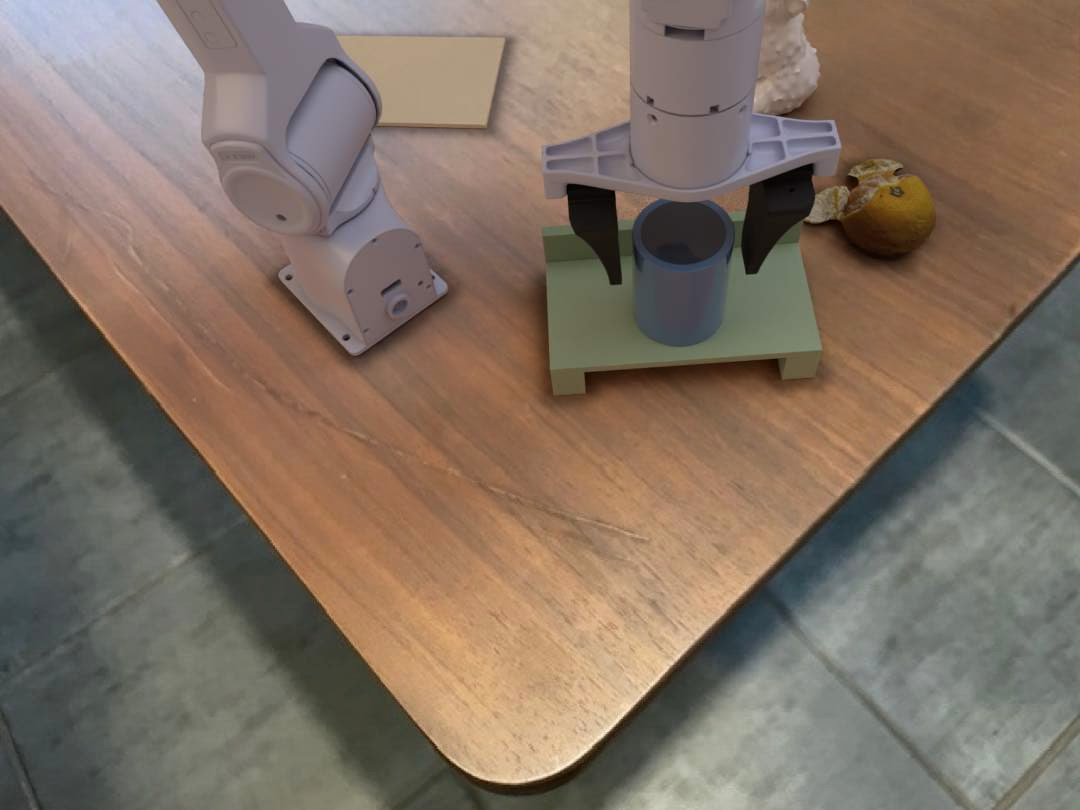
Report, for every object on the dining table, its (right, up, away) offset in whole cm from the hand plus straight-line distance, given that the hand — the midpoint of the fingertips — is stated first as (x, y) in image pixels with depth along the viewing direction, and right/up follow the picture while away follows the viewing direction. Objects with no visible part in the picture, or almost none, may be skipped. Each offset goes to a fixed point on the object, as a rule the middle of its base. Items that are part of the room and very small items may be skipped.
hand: (681, 266), depth 55 cm
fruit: (+14, +5, +10) cm, 18 cm away
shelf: (+1, -3, +6) cm, 7 cm away
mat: (-20, +18, +21) cm, 34 cm away
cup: (0, -2, +3) cm, 4 cm away
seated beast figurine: (+8, +15, +17) cm, 24 cm away
